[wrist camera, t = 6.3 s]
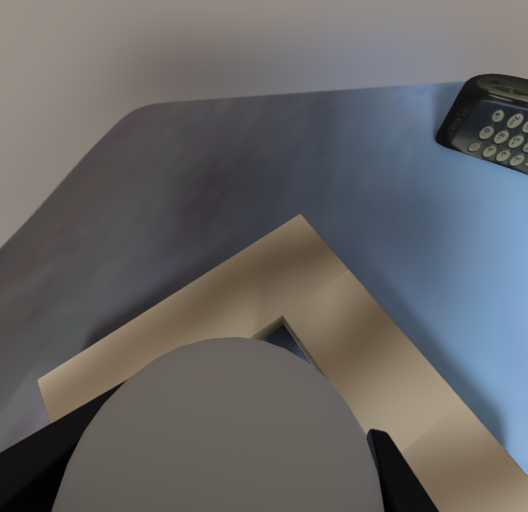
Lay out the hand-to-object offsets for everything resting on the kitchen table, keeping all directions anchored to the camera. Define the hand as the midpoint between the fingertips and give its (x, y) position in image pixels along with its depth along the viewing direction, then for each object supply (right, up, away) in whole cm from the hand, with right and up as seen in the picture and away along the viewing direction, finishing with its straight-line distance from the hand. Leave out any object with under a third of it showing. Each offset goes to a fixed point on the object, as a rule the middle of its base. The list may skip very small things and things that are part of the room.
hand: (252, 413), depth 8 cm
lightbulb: (0, -4, +6) cm, 7 cm away
